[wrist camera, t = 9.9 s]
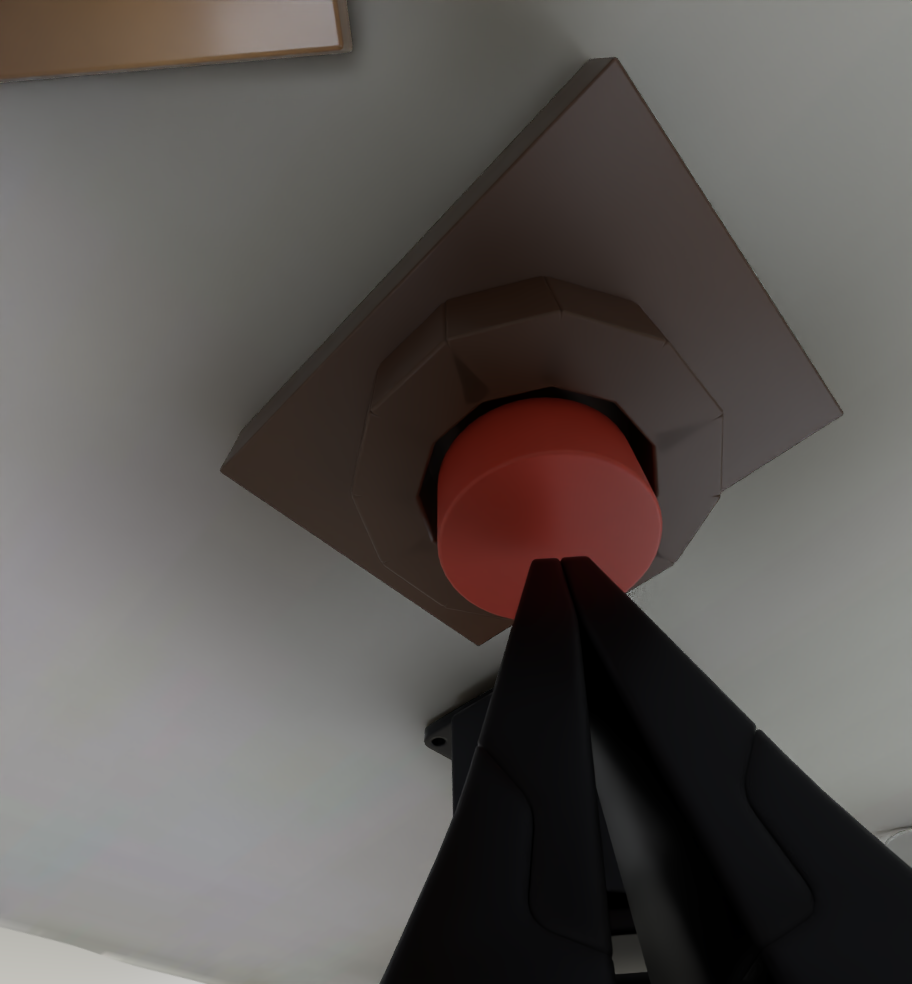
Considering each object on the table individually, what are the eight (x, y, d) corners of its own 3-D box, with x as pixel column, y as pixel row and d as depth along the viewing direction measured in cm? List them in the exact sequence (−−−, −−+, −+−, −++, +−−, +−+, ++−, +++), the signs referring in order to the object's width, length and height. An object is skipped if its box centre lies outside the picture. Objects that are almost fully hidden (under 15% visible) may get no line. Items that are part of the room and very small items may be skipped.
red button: (672, 484, 11) (706, 547, 9) (523, 582, 12) (534, 650, 11) (550, 352, 9) (571, 404, 8) (397, 483, 11) (390, 546, 9)
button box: (802, 378, 13) (903, 464, 10) (475, 600, 17) (482, 706, 14) (590, 57, 10) (655, 51, 7) (241, 430, 13) (187, 526, 11)
